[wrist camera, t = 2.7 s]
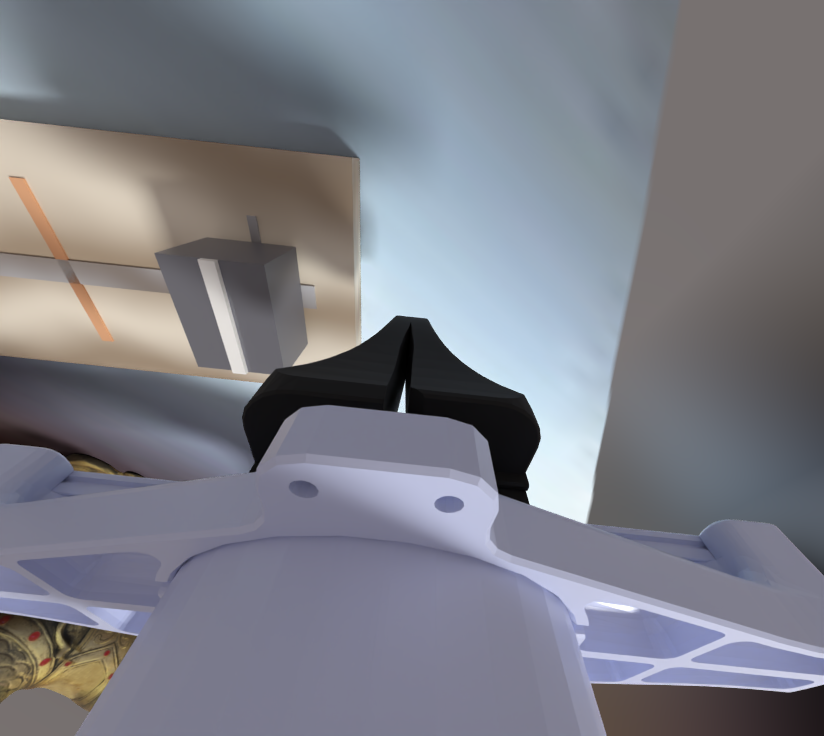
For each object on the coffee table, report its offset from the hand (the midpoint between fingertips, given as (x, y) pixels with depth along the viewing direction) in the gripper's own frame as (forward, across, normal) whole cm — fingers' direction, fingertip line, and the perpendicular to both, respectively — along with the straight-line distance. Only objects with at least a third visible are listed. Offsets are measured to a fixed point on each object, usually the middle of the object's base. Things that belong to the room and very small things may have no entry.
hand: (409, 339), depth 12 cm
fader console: (+5, +14, 0) cm, 15 cm away
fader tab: (+3, +7, 0) cm, 8 cm away
